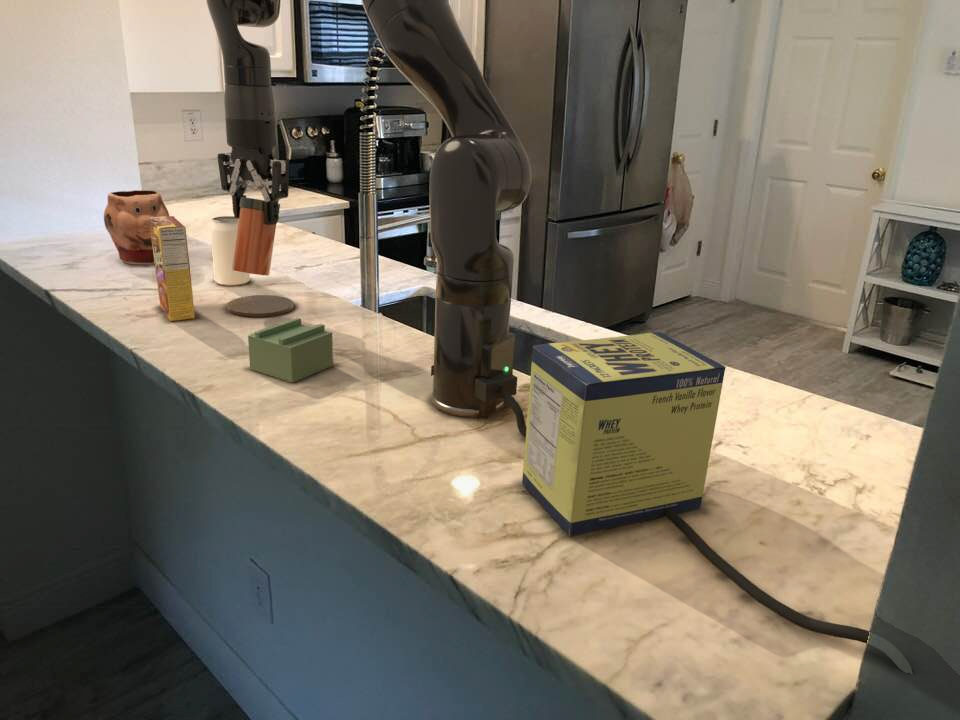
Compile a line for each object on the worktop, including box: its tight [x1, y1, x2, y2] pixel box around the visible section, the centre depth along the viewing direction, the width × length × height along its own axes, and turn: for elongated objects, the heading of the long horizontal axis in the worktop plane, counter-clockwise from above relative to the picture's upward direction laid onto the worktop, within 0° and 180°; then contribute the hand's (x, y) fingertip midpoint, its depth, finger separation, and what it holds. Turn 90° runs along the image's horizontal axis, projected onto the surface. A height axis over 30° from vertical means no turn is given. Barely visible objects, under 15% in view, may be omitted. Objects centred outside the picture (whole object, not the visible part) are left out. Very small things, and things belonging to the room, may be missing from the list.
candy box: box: [149, 215, 196, 322], centre depth 123 cm, size 9×4×15 cm, turn 31°
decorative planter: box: [103, 189, 170, 265], centre depth 155 cm, size 20×12×14 cm, turn 43°
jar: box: [232, 196, 281, 277], centre depth 126 cm, size 12×6×6 cm
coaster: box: [226, 294, 294, 318], centre depth 131 cm, size 11×11×1 cm
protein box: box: [521, 331, 726, 537], centre depth 75 cm, size 10×16×16 cm
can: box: [210, 215, 251, 287], centre depth 143 cm, size 6×6×12 cm
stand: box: [247, 317, 334, 383], centre depth 105 cm, size 8×8×6 cm
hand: (256, 221), depth 126 cm, fingers closed on jar, 6 cm apart
